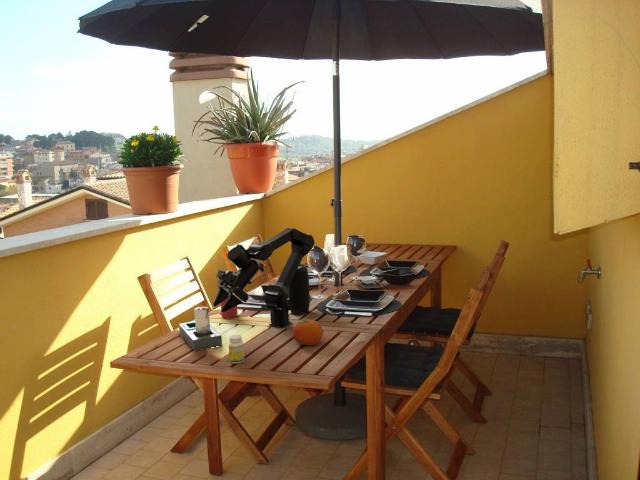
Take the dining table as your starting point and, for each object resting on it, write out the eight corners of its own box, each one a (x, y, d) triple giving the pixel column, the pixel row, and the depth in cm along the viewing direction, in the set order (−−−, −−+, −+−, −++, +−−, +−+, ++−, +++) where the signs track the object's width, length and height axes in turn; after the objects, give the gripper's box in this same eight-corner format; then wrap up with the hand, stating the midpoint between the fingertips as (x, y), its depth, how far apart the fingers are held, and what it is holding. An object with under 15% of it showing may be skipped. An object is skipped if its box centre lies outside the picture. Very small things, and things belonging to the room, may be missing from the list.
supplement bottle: (230, 359, 208) (228, 334, 206) (244, 358, 208) (243, 333, 207) (229, 364, 203) (227, 339, 202) (244, 363, 203) (242, 338, 202)
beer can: (234, 318, 253) (232, 289, 251) (219, 318, 255) (217, 289, 253) (239, 314, 260) (238, 285, 258) (224, 313, 261) (222, 285, 259)
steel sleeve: (214, 343, 225) (211, 307, 222) (204, 347, 220) (201, 311, 218) (203, 340, 227) (201, 306, 225) (193, 345, 223) (191, 309, 221)
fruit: (327, 339, 223) (326, 318, 222) (317, 349, 213) (316, 327, 212) (299, 337, 227) (298, 316, 225) (288, 347, 217) (287, 325, 216)
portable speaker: (286, 315, 255) (283, 268, 252) (293, 308, 264) (290, 263, 261) (306, 316, 253) (304, 268, 249) (313, 309, 262) (310, 263, 258)
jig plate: (222, 346, 221) (221, 334, 220) (194, 351, 217) (193, 339, 216) (205, 329, 241) (205, 318, 240) (179, 334, 236) (178, 322, 236)
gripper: (221, 256, 232) (193, 290, 229) (238, 265, 216) (208, 301, 213) (242, 274, 237) (216, 307, 234) (260, 284, 220) (232, 320, 217)
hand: (217, 308), depth 224 cm, fingers open, 9 cm apart
